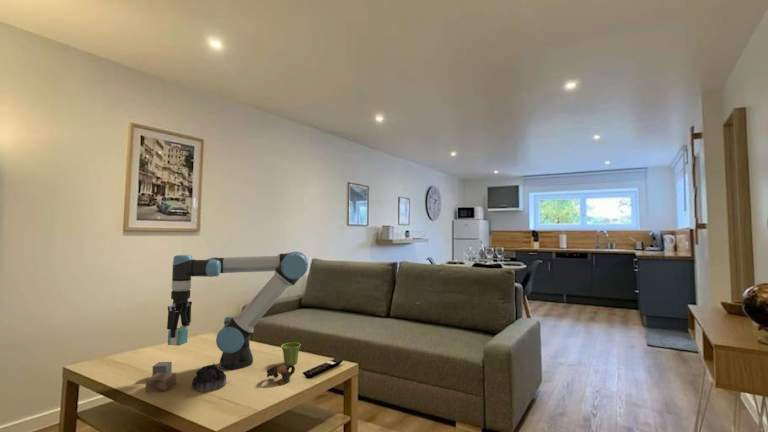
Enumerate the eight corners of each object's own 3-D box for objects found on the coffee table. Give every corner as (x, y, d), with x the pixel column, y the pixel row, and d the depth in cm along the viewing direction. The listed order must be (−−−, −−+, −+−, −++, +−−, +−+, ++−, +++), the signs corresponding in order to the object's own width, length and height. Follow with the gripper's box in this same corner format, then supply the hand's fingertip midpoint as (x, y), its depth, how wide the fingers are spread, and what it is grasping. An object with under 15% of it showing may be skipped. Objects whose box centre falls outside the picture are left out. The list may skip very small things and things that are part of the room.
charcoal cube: (171, 375, 171) (171, 361, 171) (165, 379, 165) (166, 365, 166) (158, 375, 170) (158, 362, 170) (152, 380, 165) (152, 366, 165)
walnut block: (176, 384, 161) (176, 372, 161) (166, 392, 153) (166, 380, 153) (156, 385, 160) (156, 373, 160) (145, 393, 152) (145, 380, 152)
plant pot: (276, 364, 184) (277, 346, 184) (288, 358, 193) (288, 341, 193) (293, 367, 181) (293, 348, 181) (304, 361, 189) (304, 343, 190)
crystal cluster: (203, 381, 166) (200, 358, 166) (234, 378, 166) (231, 355, 166) (186, 396, 153) (183, 372, 152) (220, 394, 152) (217, 369, 152)
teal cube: (187, 342, 171) (188, 328, 171) (179, 345, 165) (180, 331, 166) (175, 341, 171) (176, 327, 172) (167, 344, 166) (168, 330, 166)
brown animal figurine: (274, 389, 157) (266, 369, 159) (269, 391, 164) (262, 373, 167) (300, 375, 164) (293, 356, 166) (295, 378, 171) (288, 360, 174)
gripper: (186, 286, 179) (183, 336, 178) (158, 292, 161) (155, 348, 159) (201, 287, 178) (198, 337, 177) (175, 293, 160) (172, 349, 159)
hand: (178, 342), depth 168 cm, fingers closed on teal cube, 5 cm apart
